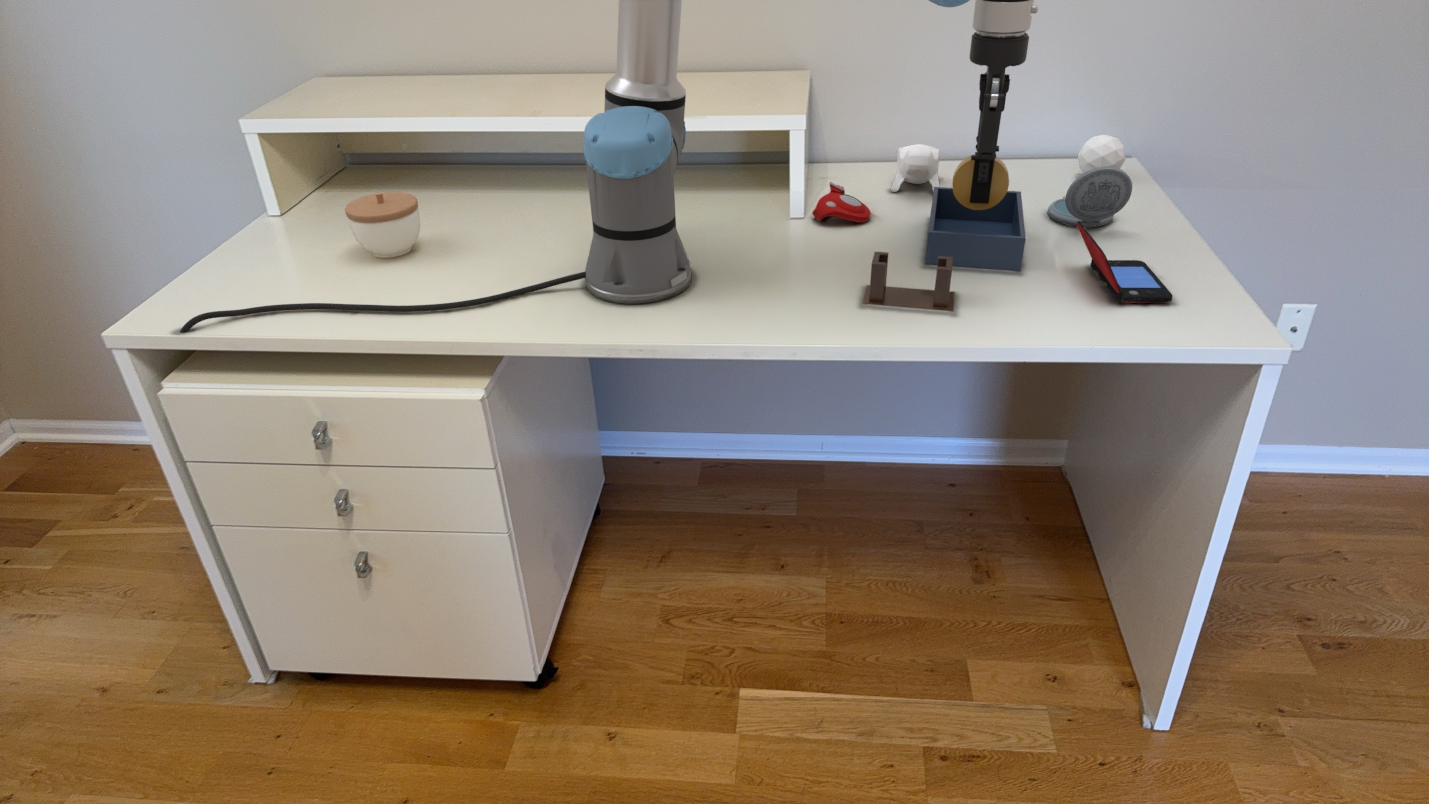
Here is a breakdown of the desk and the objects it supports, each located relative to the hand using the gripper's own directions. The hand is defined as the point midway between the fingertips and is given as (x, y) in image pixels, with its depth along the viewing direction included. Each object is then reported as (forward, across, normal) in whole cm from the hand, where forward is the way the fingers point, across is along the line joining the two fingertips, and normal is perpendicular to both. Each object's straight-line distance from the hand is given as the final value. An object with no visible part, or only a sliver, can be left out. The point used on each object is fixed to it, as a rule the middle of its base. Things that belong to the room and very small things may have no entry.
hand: (979, 198), depth 136 cm
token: (+1, 0, 0) cm, 1 cm away
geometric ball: (+8, +35, -21) cm, 42 cm away
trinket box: (+7, -18, +89) cm, 91 cm away
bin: (+7, 0, 0) cm, 7 cm away
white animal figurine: (+7, +24, +10) cm, 27 cm away
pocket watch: (+8, +14, -17) cm, 23 cm away
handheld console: (+8, -11, -20) cm, 24 cm away
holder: (+7, -21, +8) cm, 24 cm away
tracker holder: (+7, +10, +21) cm, 25 cm away
